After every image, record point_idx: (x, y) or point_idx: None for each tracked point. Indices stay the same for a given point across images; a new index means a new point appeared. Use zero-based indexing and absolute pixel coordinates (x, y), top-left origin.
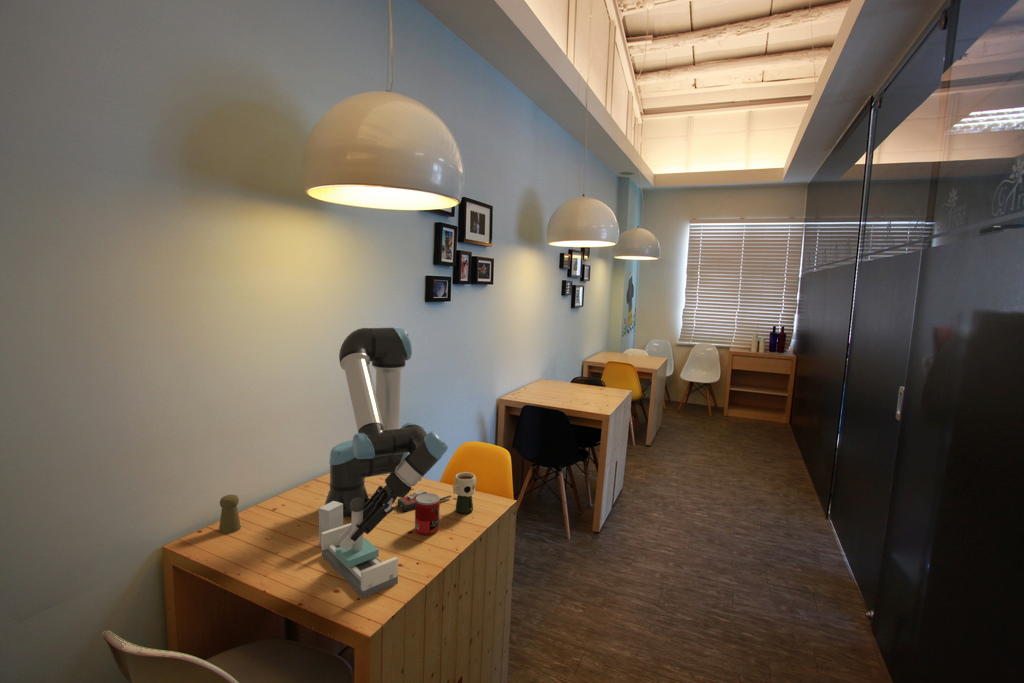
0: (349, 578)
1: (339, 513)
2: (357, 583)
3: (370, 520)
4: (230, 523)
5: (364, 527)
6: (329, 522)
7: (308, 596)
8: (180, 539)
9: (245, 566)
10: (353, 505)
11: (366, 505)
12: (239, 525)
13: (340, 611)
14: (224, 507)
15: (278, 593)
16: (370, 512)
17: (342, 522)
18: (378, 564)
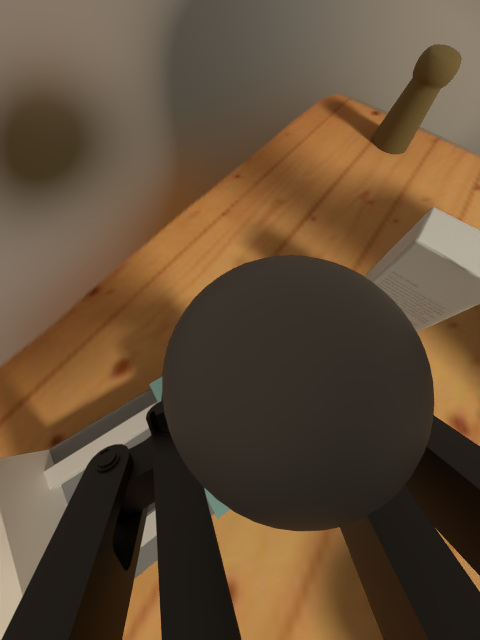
0: (135, 398)
1: (444, 298)
2: (89, 431)
3: (14, 619)
4: (390, 124)
5: (82, 490)
6: (382, 277)
7: (119, 302)
8: (348, 99)
9: (262, 180)
10: (184, 313)
11: (447, 472)
12: (398, 145)
13: (14, 392)
14: (413, 71)
15: (151, 244)
16: (208, 600)
17: (421, 326)
18: (2, 561)
